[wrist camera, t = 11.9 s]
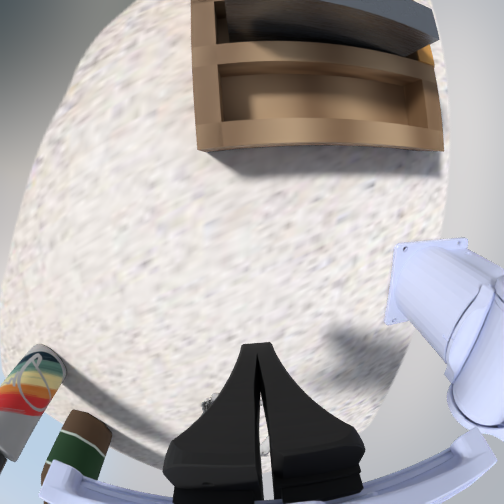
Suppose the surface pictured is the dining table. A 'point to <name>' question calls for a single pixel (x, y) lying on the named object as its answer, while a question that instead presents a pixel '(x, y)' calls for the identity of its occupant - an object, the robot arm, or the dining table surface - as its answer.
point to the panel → (335, 23)
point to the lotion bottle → (27, 398)
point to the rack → (307, 92)
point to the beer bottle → (80, 445)
